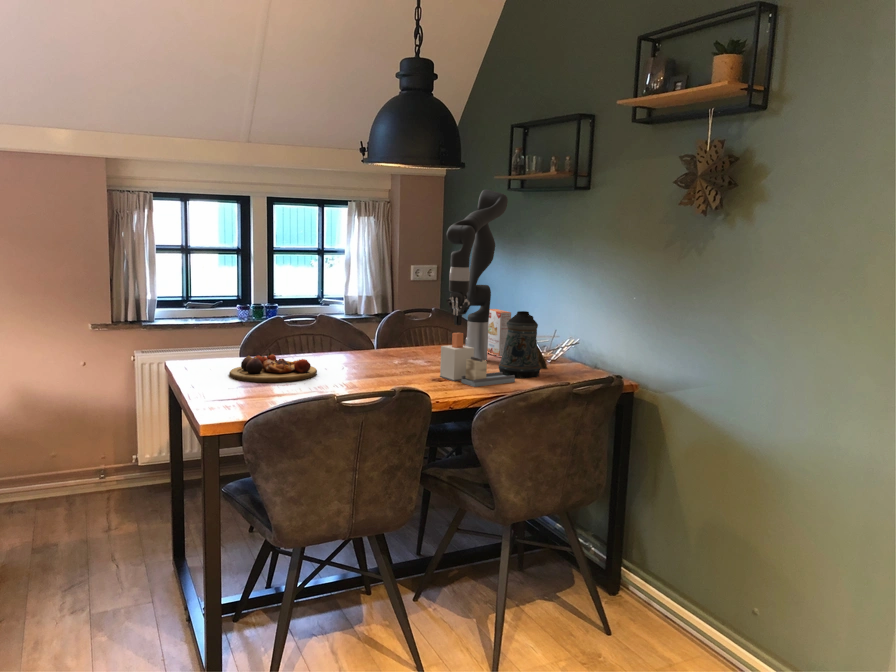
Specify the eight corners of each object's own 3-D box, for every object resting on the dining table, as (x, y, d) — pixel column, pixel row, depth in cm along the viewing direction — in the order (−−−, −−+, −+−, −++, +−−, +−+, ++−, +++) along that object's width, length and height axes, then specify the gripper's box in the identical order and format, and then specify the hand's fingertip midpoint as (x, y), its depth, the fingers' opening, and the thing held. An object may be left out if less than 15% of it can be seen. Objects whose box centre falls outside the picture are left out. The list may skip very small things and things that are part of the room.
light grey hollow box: (439, 376, 269) (440, 346, 268) (459, 374, 275) (460, 344, 273) (453, 381, 262) (454, 349, 260) (473, 379, 267) (474, 348, 266)
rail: (461, 382, 260) (461, 376, 259) (501, 378, 271) (501, 371, 270) (474, 386, 253) (474, 380, 253) (514, 382, 264) (514, 375, 264)
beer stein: (498, 377, 272) (501, 313, 268) (498, 368, 291) (500, 308, 288) (541, 379, 271) (544, 315, 268) (538, 370, 290) (541, 309, 287)
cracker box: (483, 353, 329) (485, 308, 326) (495, 352, 332) (496, 308, 329) (498, 358, 316) (500, 312, 314) (510, 357, 319) (511, 311, 316)
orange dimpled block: (451, 356, 267) (452, 332, 266) (458, 355, 269) (458, 332, 268) (456, 357, 265) (457, 333, 264) (462, 356, 267) (463, 333, 266)
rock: (514, 359, 300) (524, 360, 290) (525, 343, 302) (535, 343, 292) (533, 374, 303) (543, 375, 293) (544, 358, 304) (554, 359, 295)
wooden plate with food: (334, 375, 268) (334, 354, 267) (268, 387, 242) (267, 363, 241) (279, 366, 287) (278, 346, 286) (211, 376, 261) (211, 354, 260)
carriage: (465, 378, 259) (466, 357, 258) (476, 376, 262) (476, 356, 261) (475, 381, 254) (476, 360, 253) (486, 379, 257) (487, 359, 256)
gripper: (478, 280, 260) (476, 326, 262) (456, 277, 270) (454, 322, 273) (462, 280, 255) (460, 328, 258) (440, 278, 265) (439, 323, 268)
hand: (457, 325), depth 265 cm, fingers closed
